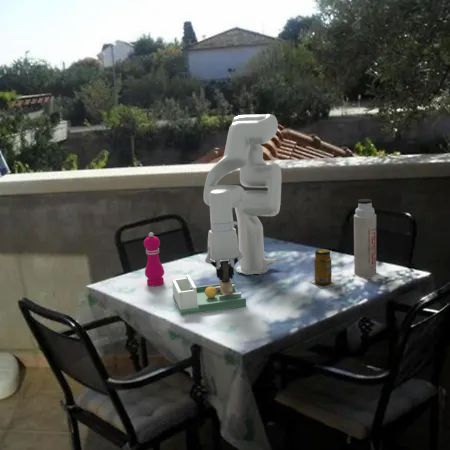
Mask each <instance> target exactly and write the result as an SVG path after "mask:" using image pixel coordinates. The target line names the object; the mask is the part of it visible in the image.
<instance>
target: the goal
mask: <svg viewBox="0 0 450 450" xmlns="http://www.w3.org/2000/svg"><path fill="white" fill-rule="evenodd" d="M171 281H172V283H171V284H172V292H173V293H172V297H173V296H174V298H175V300H176V302H177V305H178V307H179V309H180V310H183V309H190V308H197V307H198V303H197V289H196V287H197V286H196V285H195V282H194V281H193V279H192V277H191V275H190V274H186V275H185V277H182V278H174V279H172V280H171ZM190 287H192V289H193V290H190ZM174 298H173V299H174ZM177 305H176V306H177ZM178 307H177V308H178Z"/></svg>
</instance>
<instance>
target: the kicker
mask: <svg viewBox="0 0 450 450" xmlns="http://www.w3.org/2000/svg"><path fill="white" fill-rule="evenodd" d="M220 268H221V269H222V280H220V279H219V278H218V280H219V283H220V293H221V294H222V295H226V294H233V292H232V283H231V282H232V281H231V278H230V272H229V260H228V259H226V260H220Z"/></svg>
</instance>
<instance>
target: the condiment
mask: <svg viewBox="0 0 450 450" xmlns="http://www.w3.org/2000/svg"><path fill="white" fill-rule="evenodd" d="M314 253H315V254H314V259H313V261H314V263H313V264H314V267H313V269H314V279H313V280H309V282H310V283H312V284H314V285H315V286H317V287H318V288H320V289H322V288H323V289H324V288H329V287H334V286H338V285H339V284H338V283H337V282H335V281H333V280H332V271H333V270H332V257H331V251H330V250H329V249H328V248H327V249H326V248H318V249H316V250H315V252H314Z"/></svg>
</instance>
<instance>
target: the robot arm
mask: <svg viewBox="0 0 450 450" xmlns="http://www.w3.org/2000/svg"><path fill="white" fill-rule="evenodd" d="M277 119H278V118H276V116H275V115H274V114H270V113H266V114H263V113H261V114H240V115H237V116H235V117H233V119H232V122H231V124H230V126H229V127H228V128H229V129H228V133H227V138H226V143H225V149H224V151H223V152H224V153H223V157H222V158H220V160H218V161H217V162H216V163H215V164H214V165H213V166H212V167H211V169H210V170H209V172H208V173H207V175H206V179H205V184H204V187H203V202H204V203H205V205H207V206H208V207H209V217H210V230H208V236H207V255H206V257H205V259H204V262H205V263H206V264H209V265H212V266H213V267H214V268H215V273H216V278H218V280H219V279H220V280H222V269H221V268H220V261H223V260H228V261H229V272H230V280H232V279H233V278H234V275H235V272H234V271H235V269H236V272H237V273H238V272H239V273H252V274H259V275H262V274H265V273H267V272H269V266H270V265H277V263H278V262H277V259H276V258H274V259H273V258H271V257H270V258H266V257H265V249H264V227H263V224H262V222H261V220H260V219H259V217H275V216H277V215H278V214H279V212H280V209H281V201H282V199H281V198H282V197H281V196H282V168H281V167H280V165H279V164H278V163H276V162H273V161H272V162H270V161H264V162H263V160H264V159H263V158H264V149H263V147H262V145H265V144H267V143H269V142H270V141H271V140H272V139H273V138H274V137H275V136H276V134H277V132H278V128H279V126H278V125H279V122H278V120H277ZM237 170H239V182H240V185H237V184H236V185H235V184H218V183H219V181H220V180H221V179H222V178H223V177H225V176H226V175H229V174H231V173H233V172H235V171H237ZM241 185H242V186H241ZM243 187H245V188H267V190H245V189H244V188H243ZM233 209H234V210H235V211H234V212H235V216H236V221H235V220H234V217H233ZM236 226H237V231H236V228H235V227H236ZM237 233H238V234H237ZM238 262H239V265H238V266H237V267H235V266H236V265H237V263H238ZM234 267H235V269H234ZM239 273H238V274H239ZM220 280H219V281H220Z"/></svg>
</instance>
